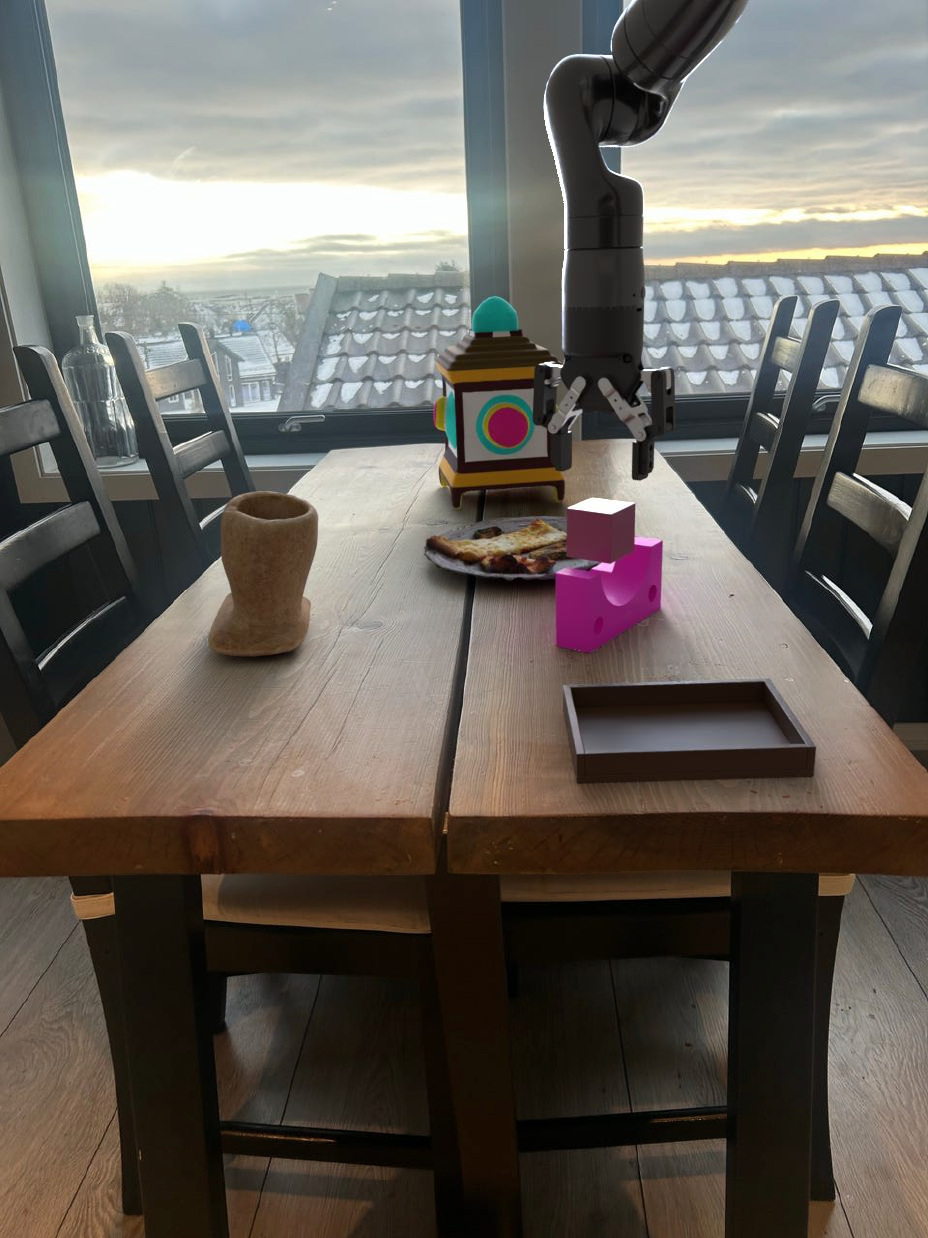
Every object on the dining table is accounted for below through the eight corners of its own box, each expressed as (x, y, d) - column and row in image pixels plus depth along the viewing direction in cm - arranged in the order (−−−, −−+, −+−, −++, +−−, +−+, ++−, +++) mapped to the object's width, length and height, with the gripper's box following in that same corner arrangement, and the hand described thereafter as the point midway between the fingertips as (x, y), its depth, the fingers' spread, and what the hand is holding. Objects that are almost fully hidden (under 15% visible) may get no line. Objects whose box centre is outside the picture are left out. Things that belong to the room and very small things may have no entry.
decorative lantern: (575, 504, 151) (575, 295, 140) (445, 513, 148) (435, 302, 138) (547, 476, 169) (545, 290, 159) (430, 484, 167) (421, 296, 157)
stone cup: (323, 662, 96) (309, 510, 91) (199, 668, 96) (178, 517, 91) (335, 609, 111) (324, 475, 105) (227, 614, 110) (210, 480, 105)
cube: (634, 551, 101) (635, 502, 99) (610, 564, 97) (611, 514, 96) (591, 544, 104) (591, 497, 102) (566, 556, 100) (566, 508, 98)
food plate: (479, 605, 110) (478, 575, 109) (394, 555, 129) (392, 528, 128) (662, 566, 120) (663, 538, 119) (558, 525, 140) (557, 500, 139)
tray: (767, 704, 84) (769, 678, 83) (813, 776, 73) (816, 747, 72) (562, 710, 84) (562, 684, 84) (576, 783, 73) (576, 754, 72)
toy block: (609, 597, 111) (610, 532, 108) (660, 607, 107) (662, 540, 104) (534, 640, 100) (533, 568, 97) (589, 653, 96) (589, 579, 93)
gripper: (516, 303, 93) (519, 474, 99) (655, 303, 85) (649, 490, 91) (558, 298, 99) (558, 460, 105) (692, 298, 91) (685, 474, 97)
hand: (601, 474), depth 98 cm, fingers open, 8 cm apart
